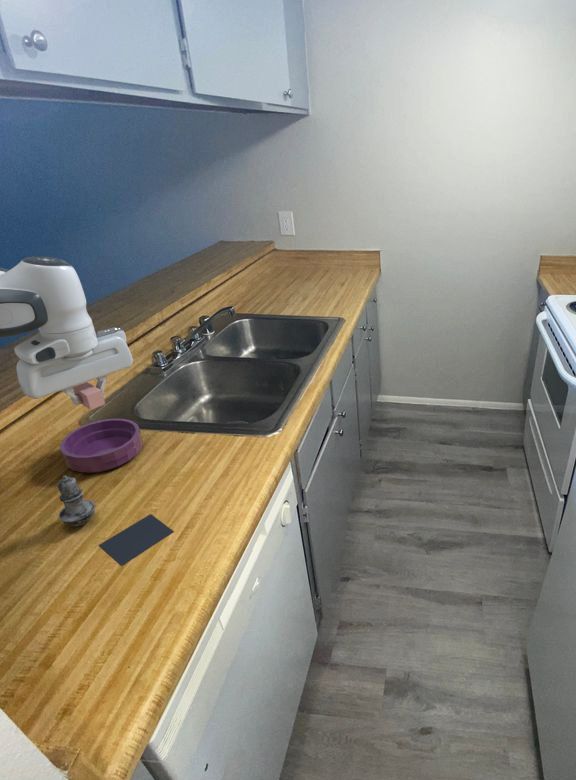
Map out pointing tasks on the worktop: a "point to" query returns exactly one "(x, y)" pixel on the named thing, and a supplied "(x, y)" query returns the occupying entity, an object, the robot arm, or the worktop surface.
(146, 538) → the mat
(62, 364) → the robot arm
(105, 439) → the bowl
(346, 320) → the worktop surface
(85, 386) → the eraser
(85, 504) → the grey stone finial
